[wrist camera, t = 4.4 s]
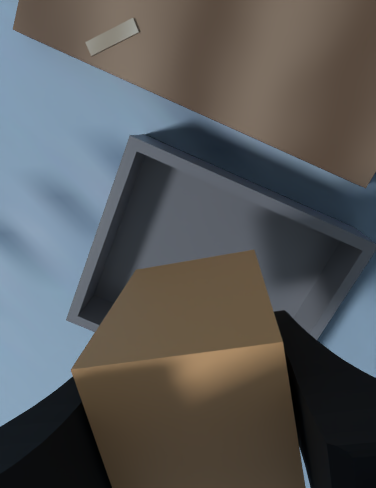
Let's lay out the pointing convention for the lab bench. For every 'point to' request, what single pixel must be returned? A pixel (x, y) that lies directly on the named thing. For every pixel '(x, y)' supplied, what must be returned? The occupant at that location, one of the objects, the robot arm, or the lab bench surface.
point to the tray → (215, 235)
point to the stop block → (192, 381)
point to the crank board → (238, 65)
